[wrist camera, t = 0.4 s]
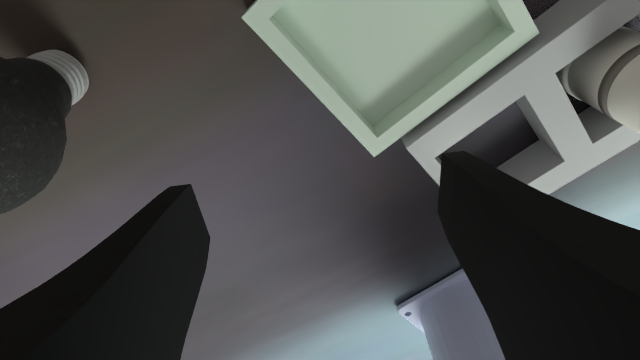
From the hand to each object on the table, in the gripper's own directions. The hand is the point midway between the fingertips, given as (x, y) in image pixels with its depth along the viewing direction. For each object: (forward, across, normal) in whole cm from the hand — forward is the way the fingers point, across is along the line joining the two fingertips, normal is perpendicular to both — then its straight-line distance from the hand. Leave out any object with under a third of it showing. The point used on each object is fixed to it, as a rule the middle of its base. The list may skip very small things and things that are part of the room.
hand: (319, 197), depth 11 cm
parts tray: (+10, -4, -3) cm, 11 cm away
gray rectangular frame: (+10, -12, +2) cm, 16 cm away
